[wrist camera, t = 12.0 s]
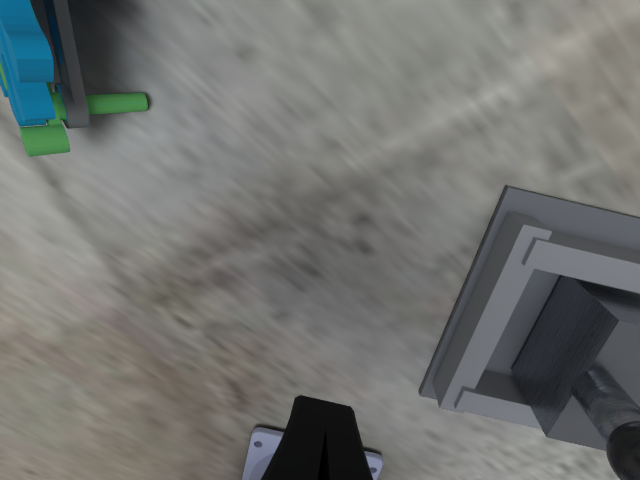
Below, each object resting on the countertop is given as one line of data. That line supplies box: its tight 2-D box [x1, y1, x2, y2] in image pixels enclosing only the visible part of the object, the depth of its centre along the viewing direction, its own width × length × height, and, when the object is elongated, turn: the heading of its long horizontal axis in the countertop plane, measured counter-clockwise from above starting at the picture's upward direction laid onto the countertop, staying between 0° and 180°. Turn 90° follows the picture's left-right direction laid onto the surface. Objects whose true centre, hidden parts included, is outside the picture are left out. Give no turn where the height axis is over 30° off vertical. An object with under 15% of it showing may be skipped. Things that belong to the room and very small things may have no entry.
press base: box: [419, 186, 640, 429], centre depth 18 cm, size 12×16×3 cm
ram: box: [511, 275, 640, 480], centre depth 15 cm, size 6×4×8 cm, turn 167°
